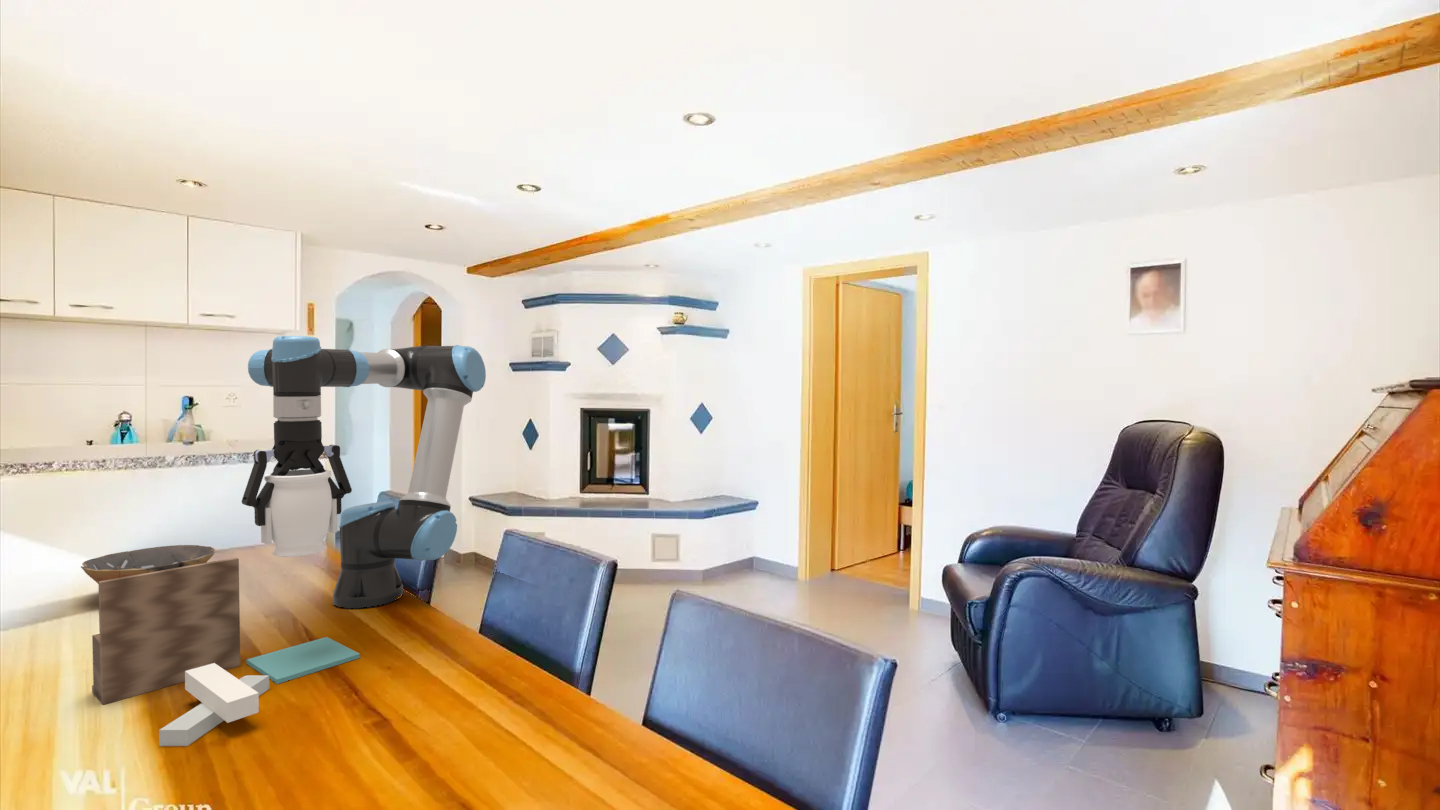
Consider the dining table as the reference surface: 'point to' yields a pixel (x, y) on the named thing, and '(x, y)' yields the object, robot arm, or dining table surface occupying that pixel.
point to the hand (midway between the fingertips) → (300, 537)
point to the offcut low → (202, 718)
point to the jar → (299, 512)
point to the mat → (302, 659)
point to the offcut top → (222, 692)
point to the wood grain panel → (165, 627)
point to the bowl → (145, 561)
